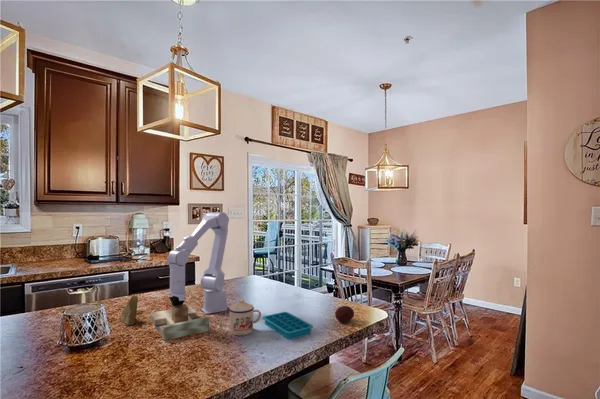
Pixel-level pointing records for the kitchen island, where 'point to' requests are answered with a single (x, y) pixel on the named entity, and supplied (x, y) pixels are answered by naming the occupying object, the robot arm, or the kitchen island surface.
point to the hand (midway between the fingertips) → (177, 314)
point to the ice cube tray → (287, 325)
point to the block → (179, 313)
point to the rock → (130, 311)
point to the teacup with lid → (242, 318)
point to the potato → (344, 313)
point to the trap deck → (178, 324)
